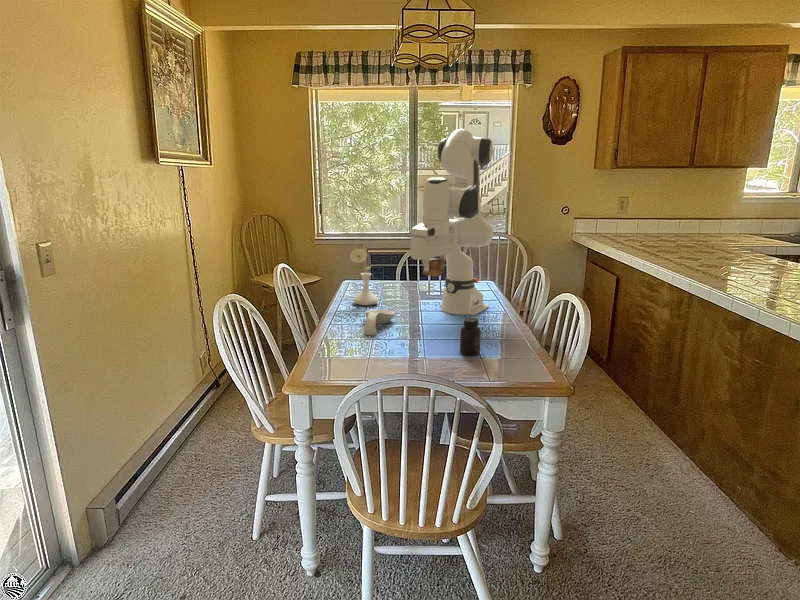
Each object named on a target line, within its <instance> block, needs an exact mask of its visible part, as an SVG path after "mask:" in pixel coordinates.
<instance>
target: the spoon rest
mask: <svg viewBox="0 0 800 600" xmlns="http://www.w3.org/2000/svg"><path fill="white" fill-rule="evenodd" d="M364 314H365V316H366V321H365V325H364V329H363V335H364V336H377V328H376V327H377V325H383V324H384V325H385V324H387V323H388V322H389V321H392V319H393V317H394V316H395V312H394V311H392V310H387V309H371V310H366V311H365V312H364Z"/></svg>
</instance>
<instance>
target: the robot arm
mask: <svg viewBox="0 0 800 600" xmlns="http://www.w3.org/2000/svg"><path fill="white" fill-rule="evenodd" d="M436 150H437V151H436V152H437V157H438V161H439V162H440V163H441V166H442V168H443V170H445V172H446V173H447V174H449V175H451V176H453V179H452V187H450V180H449V179H448V178H446V177H445V176H444V177H443V176H434V177H429V178H427V179H426V180H425V183H424V187H423V193H422V194H423V196H422V210H423V215H422V217H421V222H420V223H418V224H417V225H415V226H413V227H412V228H411V229H410V234H411V235H412V237H411V239H410V249H409V253H410V258H411V259H413V260H418V261H420V260H421V262H422V264H424V271H431V266H430V265H429V262H428V261H429V260H430V258H438V259H442V260H445V262H446V277H445V280H444V286H445V288H444V289H443V293H442V301H441V303H440V304H439V306H440V309H441V311H442V312H444V313H447V314H453V315H470V316H471V315H472V316H473V315H474V316H476V315H477V314H479V313H481V312H483V311H485V310H486V309H488V308H489V304H487V303H485V302H484V295H483V293H482V292H481V291H479V290H478V288H477V287H476V285H475V284H478V283H479V278H475V277H474V261H473V258H471V257H470V256H469V255H467V254H466V253H464V252H463V251H462V249H461V247H467V248H469V247H470V248H479V247H480V248H481V247H488V245H490V244H491V242H492V241H493V238H494V230H493V227H492V225H491V224H490V222H488V221H487V220H486V218H484V217H483V214H482V212H481V206H482V200H481V194H480V183H481V182H480V181H481V180H480V179H481V175H480V172H481V171H480V170H482V169H484V167H486V166H487V165H489V164H490V163H491V161H492V158H493V157H494V145H493V142H492V140H491V138H488V137H484V136H481V137H477V136H473V134H472V133H471V132H470V131H469V130H467V129H465V128H459V129H458V128H457V129H455V130H453V131H452V132H451V134H450V135H449V136H448V137H444V138H442V139H441V140H440V141H439V142H438V145H437V149H436ZM450 217H458V218H462V219H455V218H450Z"/></svg>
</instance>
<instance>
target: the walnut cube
mask: <svg viewBox="0 0 800 600" xmlns="http://www.w3.org/2000/svg"><path fill="white" fill-rule="evenodd" d="M428 262H429V265H430V266H431V271H424V264H423V263H422V264H423V265H422V266H423V269H422V271H423V272H422V274H423V276H424V275H425V276H429V277H435V278H436V277H439V276H444V275H445V267H446V265H445V264H446V263H445V262H446V259H445V260H442V259H440V258H438V257H433V258H430V260H429V261H428Z"/></svg>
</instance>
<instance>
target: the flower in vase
mask: <svg viewBox="0 0 800 600" xmlns="http://www.w3.org/2000/svg"><path fill="white" fill-rule="evenodd" d="M348 256H349V259H350V261H351V262H355V263H359V264H361V263H362V262H364V261H366V260H367V258H368V252H367V251H366V249H364V248H355V249H353V250H352V251H351V252H350V254H349V255H348ZM372 266H373V265H369V266H366V267H364V269H363V268H362V266H361V265H359V266H357V265H356V266H353V267H352V268H351V269H350V270H351V271H355V272H356V271H357V272H358V271H360V270H361V271H362V272H361V273H359V274H360V276H361V277H362V282H363V288H362V290H361V291H360V292H359V293H358V294H357V295H355V296H354V297H353V300H352V301H353V303H354V304H356V305H360V306H372V305H375V304H377V303H379V301H380V300H379V298H378V297H377V296H376V294H374V293H373V292H372V291H371V290H370V289H369V281H370V278H371V276H372V273H371V272H367V271H369V270H370V269H372Z"/></svg>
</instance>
